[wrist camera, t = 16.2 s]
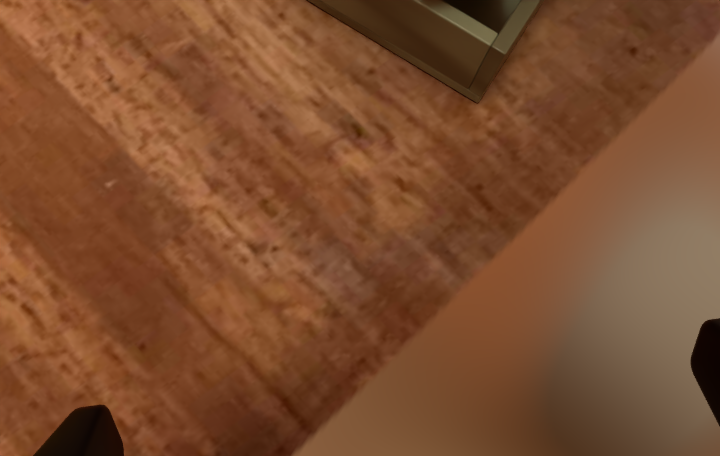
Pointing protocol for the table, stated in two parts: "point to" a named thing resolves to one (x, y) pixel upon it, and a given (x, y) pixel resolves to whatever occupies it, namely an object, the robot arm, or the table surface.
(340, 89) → the table surface
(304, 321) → the table surface
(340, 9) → the box
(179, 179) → the table surface
